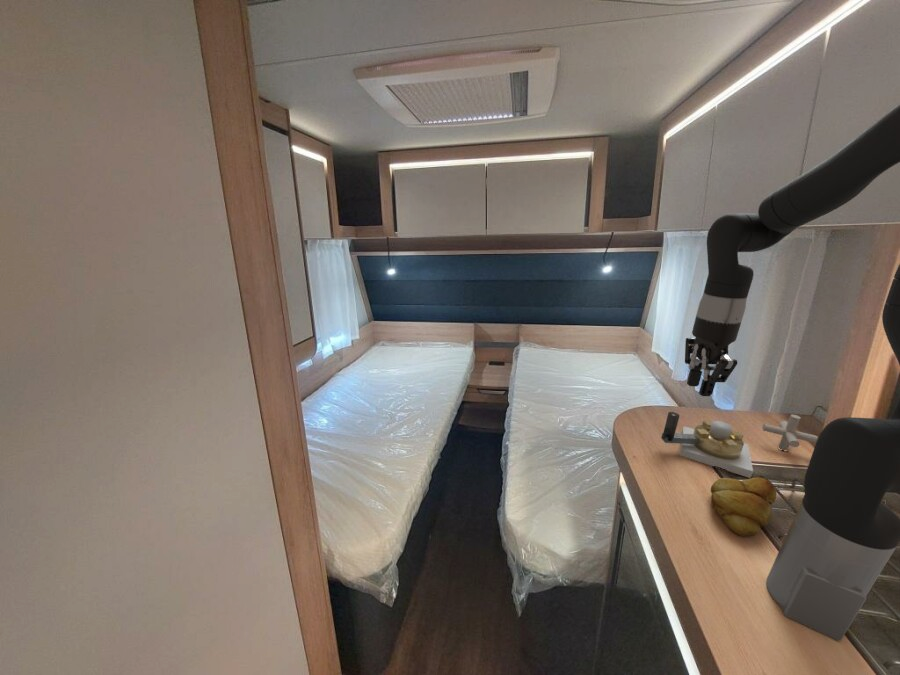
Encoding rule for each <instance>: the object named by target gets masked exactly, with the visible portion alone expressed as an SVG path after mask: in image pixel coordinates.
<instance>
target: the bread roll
mask: <svg viewBox="0 0 900 675" xmlns="http://www.w3.org/2000/svg"><path fill="white" fill-rule="evenodd" d="M710 492H711V496H710V498H711V500H710V502H711V506H712V509H713V510H714V512H715V513H716V514H717V515H718V516H720V517H721V518H722V520H723V521H724V524H725V525H726V526H727V527H728V528H729V529H730V530H731V531H732V532H734V533H735V534H737V535H739V536H742V537H747V538H748V537H754V536H756V535H758V533H760V531H761V529H762V528H765V527H767V525H768V524H769V522H770V518H771V516H772V506H771V505H773V504H774V503H775V501H776V499H777V489H776V487H775V485H774V484H773V483H772V482H771V481H769V480H768V479H766V478H762V477H751V478H744V479H742V480H739V479H737V478H730V477H722V478H721V477H720V478H718V479H716V480H715V481H714V482H713V483H712V484H711V487H710Z"/></svg>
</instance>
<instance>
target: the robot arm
mask: <svg viewBox="0 0 900 675" xmlns="http://www.w3.org/2000/svg"><path fill="white" fill-rule="evenodd" d="M899 163H900V103H899V104H898V105H896V106H894V108H892V109H891V110H889V111H888V112H887V113H886V114H885V115H882V117H881V118H879V120H877V121H875V122H874V123H873V124H871V126H868V128H866V129H865V130H864V131H863V132H861V133H860V134H858V136H856V137H855V138H853V139H852V140H851V141H849V142H848V143H847V144H846V145H845V146H843V147H842V148H840V149H839V150H837V151H836V152H835V153H834V154H832V155H831V156H829V157H828V158H827V159H825V160H823V161H821V162H820V163H818V164H817V165H815V166H814V167H812V168H811V169H809V170H807V171H806V172H804V173H803V174H801V175H799V176H798V177H796V178H794V179H793V180H790V182H787V183H786V184H784V185H783V186H781V187H779V188H778V189H776V190H775V191H773V192H771V193H770V194H769V195H767V196H766V197H765V198H764V199H763V200H761V203H760V205H759V207H758V209H757V211H758V212H757V213H752V212H751V213H745V212H743V213H742V212H741V213H735V212H734V213H733V212H732V213H726V214H723V215H721V216H719V217H718V218H717V219H716V220H714V221H713V223H712V225H711V226H710V228H709V230H708V232H707V236H706V253H707V267H708V268H707V270H708V273H707V279H706V282H705V285H704V290H703V292H702V296H701V298H700V300H699V304H698V308H697V311H696V315H695V319H694V323H693V327H692V331H691V334H692V336H693V337H686V338H685V344H684V345H685V346H684V347H685V348H684V349H685V350H684V363H685V364H686V365H688V370H689V371H688V372H689V373H688V377H687V382H686V384H687V385H688V386H689V387H699V386H700V388H699V391H698V394H699V395H700V396H701V397H711V396H712V395H713V393H714V389H715V386H716V383H725V382H726V381H727V380H728V378H729V377H730V376H731V374H732V372H733V371H734V370H735V368H736V367H737V365H738V360H737V359H733V358H732V359H731V358H730V356H729V345H730V344H732V343H734V342H736V341H737V338H738V334H739V332H740V328H741V325H742V321H743V318H744V314H745V311H746V306H747V299H748V295H749V292H750V289H751V286H752V283H753V278H754V269H752V267H751V266H748V265H745V264H744V265H743V264H739V253H754V252H760V251H763V250H765V249H769V248H770V247H773V246H774V245H776V244H778V243H779V242H780V241H782V240H784V239H785V237H787V236H789V235H790V234H791V233H793V231H795V230H796V229H797V228H799V227H802V226H804V225H805V224H808V223H810V222H812V221H814V220H817V219H819V218H821V217H823V216H824V215H827V214H829V213H832V212H833V211H835V210H837V209H839V208H841V207H842V206H844V205H845V204H847V203H848V202H850V201H852V200H854V199H855V198H856V197H857V196H858V195H859V194H860V193H862V192H863V191H864V190H865V189H866V188H867V187H868V186H869V185H870V184H871V183H872V182H873V181H874V180H875V179H876V178H878V177H879V176H880V175H881V174H883V173H885V171H888V170H889V169H891V168H892V167H894V166H895V165H897V164H899ZM893 277H894V278H893V279H892V281H891V285H890V287H889V291H888V294H887V297H886V300H885V303H884V305H883V310H882V315H881V318H882V319H881V320H882V326H883V329H884V333H885V335H886V338H887V340H888V343H889V345H890V347H891V350H892V352H893V353H894V356H895V358H896V359H897V360H896V361H897V362H898V365H899V366H900V263H899V265H898V267H897V269H896V271H895V273H894V276H893ZM702 370H703V371H702ZM711 371H713V372H712V373H711ZM702 374H703V375H702ZM702 376H703V379H702ZM701 379H702V380H701ZM700 382H701V384H700ZM817 437H818V439H817V442H816V443H815V446H814V448H813V451H812V454H811V456H810V460H809V463H808V465H807V466H808V467H807V468H806V471H805V474H804V479H803V485H804V495H803V498H802V500H801V503H800V505H799V507H798V509H797V512H796V514H795V516H794V518H793V521H792V522H791V525H789V529H788V530H787V533H786V535H785V537H784V540H783V541H782V544H781V546H780V548H779V550H778V552H777V554H776V558H775V559H774V562H773V564H772V566H771V568H770V571H769V573H768V575H767V578H766V581H765V582H766V588H767V590H768V592H769V594H770V596H771V597H772V599H773V600H774V601H775V602H776V604H778V606H779V607H780V608H781V610H782V614H783V615H784V616H785V617H787V618H789V619H791V620H793V621H796V622H797V623H799V624H802V625H803V626H805V627H808V628H810V629H812V630H815V631H816V632H819V633H821V634H822V635H823V634H824V635H825V636H827V637H830V638H831V639H834V640H836V641H838V642H841V641H842V640H843V638H844V636H845V635H846V632H848V630H849V628H850V627H851V625H852V623H853V622H854V620H855V618H856V617H857V615H858V614H859V612H860V610H861V609H862V607H863V605H864V603H865V602H866V600H867V596H868V594H869V592H870V590H871V589H872V587H873V586H874V584H875V582H876V580H877V579H878V578H879V576H880V574H881V573H882V571H883V569H884V567H885V566H886V565H887V563H888V562H889V560H890V558H891V556H892V555H893V553H894V552H895V550H896V549H897V547H898V545H899V543H900V517H899V516H898V515H897V514H896V513H895V512H893V511H892V509H890V508H889V507H887V506H886V505H884V504H883V503H882V501H883V498H884V496H885V495H886V494H888V493H891V494H900V394H899V396H898V398H897V401H896V404H895V406H894V409H893V411H892V413H891V415H890V416H889V418H873V417H872V418H871V417H839V418H836V419H834V420H832V421H830V422H829V423H827V425H825V427H824V428H822V430H821V432H820V434H819V436H817Z"/></svg>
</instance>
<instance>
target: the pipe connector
mask: <svg viewBox="0 0 900 675" xmlns="http://www.w3.org/2000/svg"><path fill="white" fill-rule="evenodd" d="M800 420H801V417H800V416H799V415H796V414H790V417H789V418H788V421H787V420H781V421H780V422H779V424H778V425H779V426H780V427H779V426H776V425H772V424H771V425H770V424H767V423H763V424H762V431H763V432H767V433H768V432H769V433H770V434H771V433H772V434H776V435H780V436H781V439H780V441H779V444H778V446H777V448H778V447H779V448H780V449H782V450H787V451H788V450H789V448H790V447H792V448H798V447H799V446H800V442H799V440H802V441H806V442H809V443H813V444H816V442H817V439H818V437H819V436H817V435H814V434H810V433H807V432H802V431H797V428H798V426H799V423H800Z"/></svg>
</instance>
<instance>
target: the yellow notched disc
mask: <svg viewBox="0 0 900 675" xmlns="http://www.w3.org/2000/svg"><path fill="white" fill-rule="evenodd" d="M679 419H680V414H679V413H678V412H673V411H669V412H668V414H667V417H666V422H665V423H664V424H665V425H664V428H663V429H664V430H663V432H662V434H661V437H660V438H661V440H662V441H663V442H664V444H680V445H681V444H694V445H695V446H696V447H697V448H699V449H700V450H702V451H703V452H705V453H707V454H709V455H712V456H715V457H718V458H723V459H736V458H738V457H739V456H740V454H741V451H742V448H743V445H744V443H745V442H744V441H743V439H744V434H742V432H740V431H739V430H733V429H732V430H731V433H730V436H729V439H728V440H725V439H723V440H719V439H716V438H714V437H712V436H711V435H710V434H709V431H710V427H711V424H712V422H713V421H712V420H703V421H702V424H700V425H699V424H698V425H697V426H695V427H694V429H695V430H694V433H693V434H682V433H676V430H677V427H678V423H679Z"/></svg>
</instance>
